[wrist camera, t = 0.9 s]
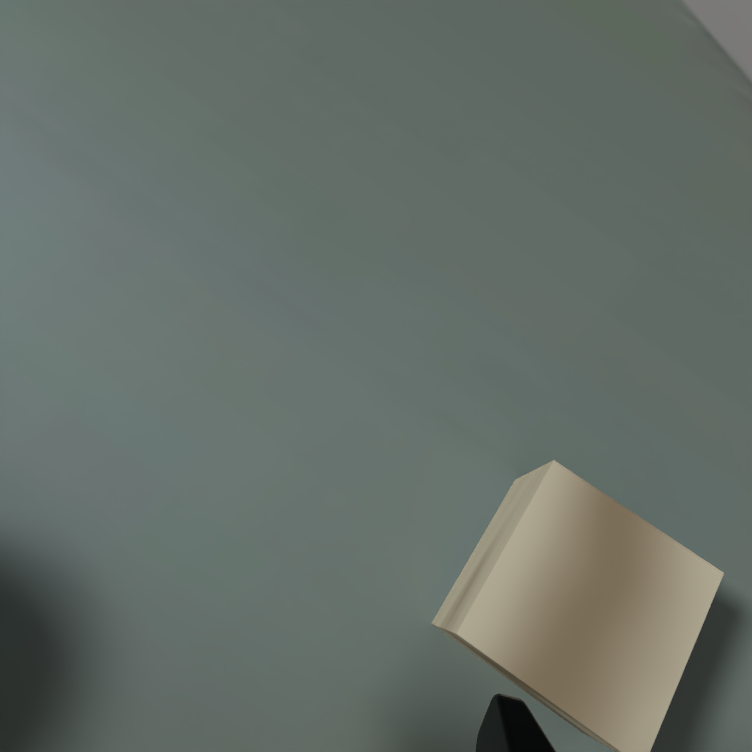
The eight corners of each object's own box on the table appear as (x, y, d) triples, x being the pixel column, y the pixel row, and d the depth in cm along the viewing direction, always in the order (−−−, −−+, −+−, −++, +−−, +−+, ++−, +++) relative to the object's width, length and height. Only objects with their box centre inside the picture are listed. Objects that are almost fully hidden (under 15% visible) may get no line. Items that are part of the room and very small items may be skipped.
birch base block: (652, 574, 21) (724, 572, 18) (580, 731, 19) (643, 768, 16) (513, 480, 22) (553, 460, 18) (430, 623, 20) (456, 633, 16)
